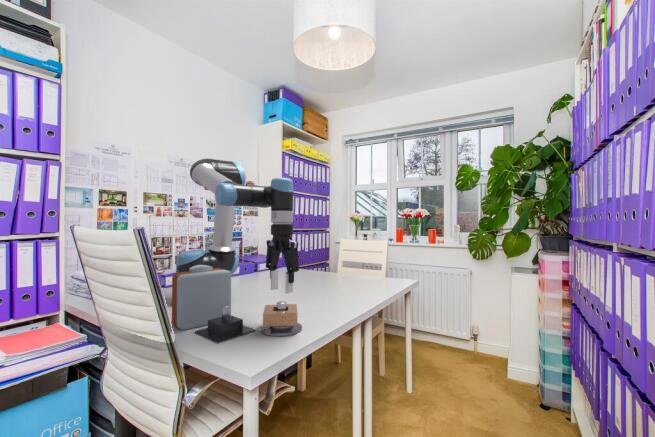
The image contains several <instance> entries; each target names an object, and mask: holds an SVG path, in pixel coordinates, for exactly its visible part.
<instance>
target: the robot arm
mask: <svg viewBox="0 0 655 437" xmlns="http://www.w3.org/2000/svg"><path fill="white" fill-rule="evenodd" d="M189 176H190V179H191V180H192V182H194V183H195V184H196V185H198V186H200V187H205V188H206V189H207V190H208V191H210V192H211V193H213V194H214V198H215V208H214V223H213V235H212V237H213V238H212V244H211V245H210V246H209V247H208V251H207V252H206V251H205V249H204V248H203V249H202V248H201V249H192V250H185V251H182V252H180V253H179V254H177V255H176V260H175V262H176V263H175V268H176V269H175V273H179V272H189V268H191V267H193V266H196V265H207V266H211V267H212V269H216V268H220V269H224V270H228V271H230V273H231V275H234V273H236V272H237V270H238V267H239V262H240V258H239V253H238V251H237V250H236V248H235V247H234V245H233V238H234V225H235V224H234V222H235V214H236V213H235V211H236V210H235V208H236V207H250V208H251V207H253V208H260V209H261V208H262V209H263V208H265V209H266V208H270V222H271V223H272V224H270V235H272V239H267V240H266V256H265V257H266V258H265V260H266V261H265V268H266V269H269V278H270V290H271V291H275V290H278V289H279V269H278V264H279V261H280V257H281V254H282V255H283V259H284V264H285V266H286V272H285V294H290V293H293V292H294V283H295V273H297V272H299V271H300V265H299V263H300V262H299V250H298V247H299V242H298V241H294V240H293V238H292V235H293V234H294V225H293V224H292V223H294V183H293V180H292V179H291V178H287V177H274V178H272V179H271V182H270V185H269V186H266V185H252V184H246V181H247V180H246V179H247V178H246V177H247V176H246V171H245V169H244V167H243V165H242V164H241V163H239V162H237V161H236V162H235V161H232V160H230V161H229V160H222V159H214V158H202V159H199V160H197V161H195V162H194V163H192V165H191V167H190V168H189Z"/></svg>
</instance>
